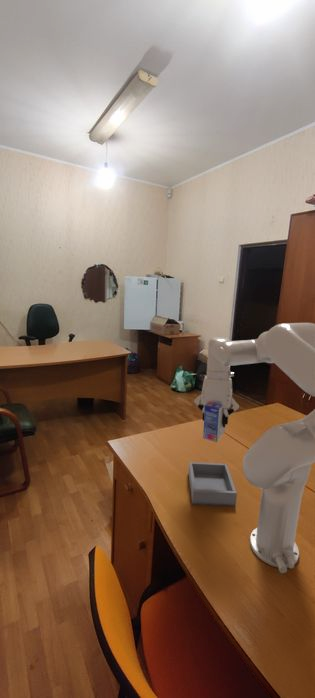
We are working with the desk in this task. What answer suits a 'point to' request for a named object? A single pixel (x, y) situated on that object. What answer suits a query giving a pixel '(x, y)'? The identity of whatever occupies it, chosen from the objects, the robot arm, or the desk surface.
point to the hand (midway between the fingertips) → (214, 423)
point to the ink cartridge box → (213, 422)
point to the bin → (211, 484)
